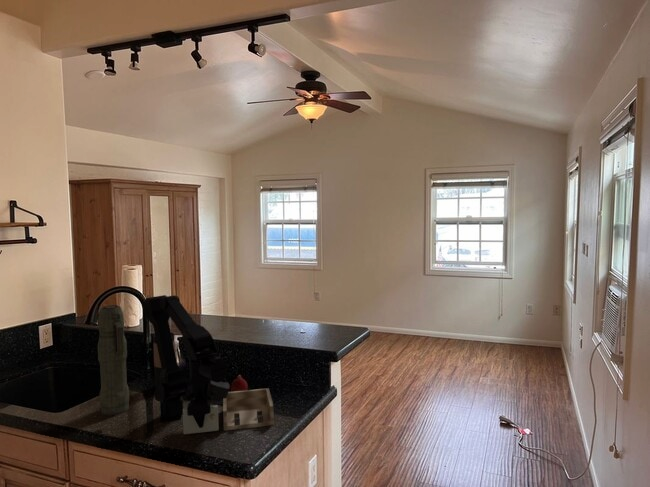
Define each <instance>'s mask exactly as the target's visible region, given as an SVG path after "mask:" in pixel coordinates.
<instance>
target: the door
mask: <svg viewBox="0 0 650 487" xmlns="http://www.w3.org/2000/svg"><path fill="white" fill-rule="evenodd" d="M182 423H183V425H182V428H183V430H182V431H183V435H190V434H197V433H198V434H200V433H207V432H209V433H210V432H217V431H219V430H220V428H219V426H220V425H219V406H218V404H216V405H215V404H214V405H211V411H210V413H209V414H205V418H204V424H203V427H202V428H199V426H198V424H197V422H196V421H195V419H194V417H193V415H192V416H188V415H187V407H186V408H185V407H184V409H183V415H182Z"/></svg>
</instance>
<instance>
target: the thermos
mask: <svg viewBox="0 0 650 487" xmlns="http://www.w3.org/2000/svg"><path fill="white" fill-rule="evenodd" d="M97 318H98V332H99V336H98V342H97V359H98V360H97V361H98V362H99V372H100V391H99V406H100V413H101V415H102V416H116V415H120V414H123V413H125V412H127V411H128V410H130V404H129V402H130V390H129V389H130V388H129V386H128V384H127V383H128V382H127V380H128V379H127V377H128V376H127V357H128V344H127V338H126V336H125V331H124V329H125V326H124V325H125V322H124V321H125V319H124V318H125V317H124V312H123V309H122V308H121V306H119V305H116V304H114V305H111V304H110V305H105V306H102V307H101V308H100V309H99V313H98V317H97Z"/></svg>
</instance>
